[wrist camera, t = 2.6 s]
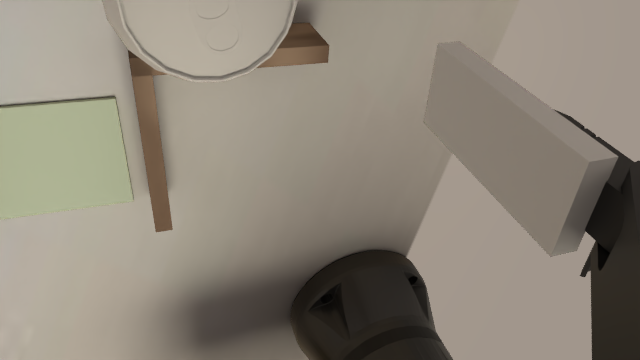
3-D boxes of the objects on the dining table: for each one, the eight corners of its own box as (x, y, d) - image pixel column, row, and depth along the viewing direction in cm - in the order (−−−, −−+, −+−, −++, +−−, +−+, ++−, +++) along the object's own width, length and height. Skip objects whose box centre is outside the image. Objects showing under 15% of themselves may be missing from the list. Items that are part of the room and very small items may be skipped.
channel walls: (320, -218, 31) (348, -219, 27) (301, 176, 46) (317, 207, 43) (-264, -268, 23) (-329, -278, 20) (-48, 223, 39) (-63, 266, 35)
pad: (115, 96, 37) (115, 98, 37) (133, 199, 42) (133, 201, 42) (-49, 110, 34) (-50, 112, 34) (-8, 218, 40) (-9, 220, 39)
